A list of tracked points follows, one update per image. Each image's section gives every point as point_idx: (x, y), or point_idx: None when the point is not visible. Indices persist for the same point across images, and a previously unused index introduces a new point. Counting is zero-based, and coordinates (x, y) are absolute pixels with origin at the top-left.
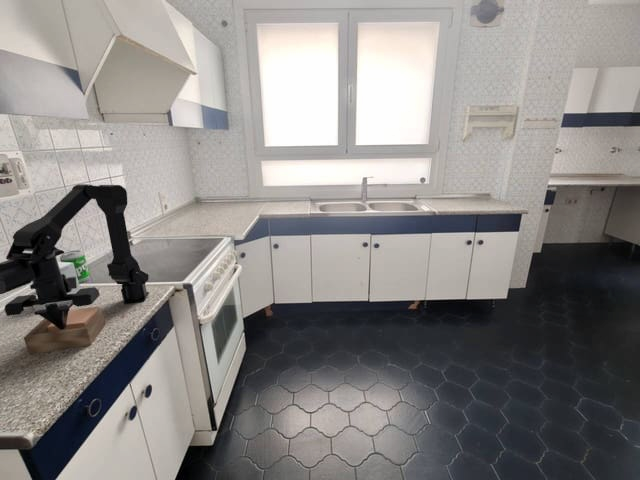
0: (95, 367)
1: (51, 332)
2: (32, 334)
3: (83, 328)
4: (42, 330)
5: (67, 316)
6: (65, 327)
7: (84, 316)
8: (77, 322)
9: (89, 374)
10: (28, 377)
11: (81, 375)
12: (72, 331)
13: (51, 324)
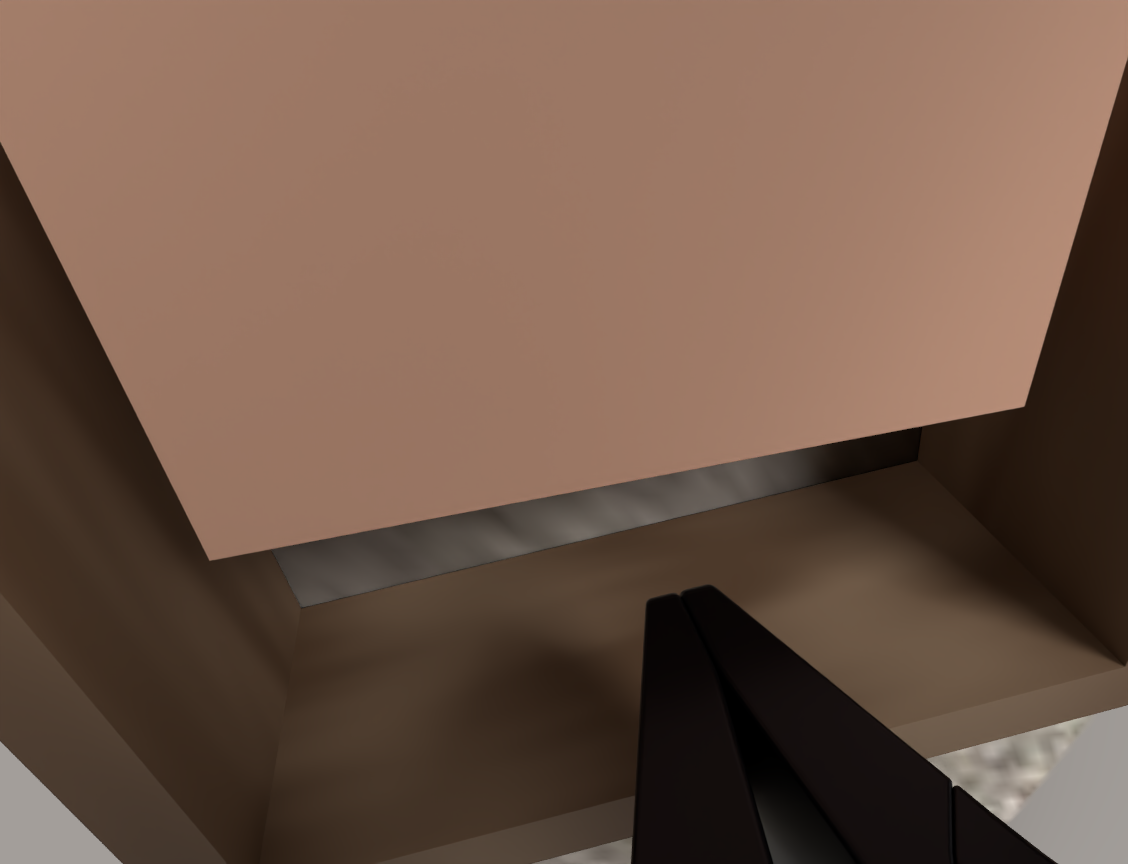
0: (1059, 735)
1: (611, 809)
2: (234, 843)
3: (1121, 696)
4: (115, 548)
5: (924, 764)
6: (710, 592)
7: (957, 76)
8: (871, 402)
9: (1030, 784)
10: (585, 849)
11: (979, 795)
12: (946, 735)
13: (208, 468)
